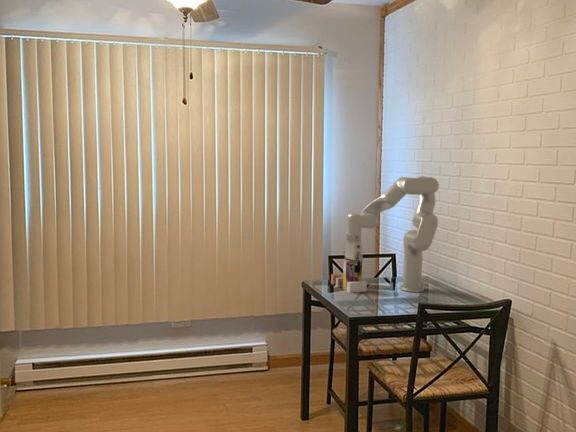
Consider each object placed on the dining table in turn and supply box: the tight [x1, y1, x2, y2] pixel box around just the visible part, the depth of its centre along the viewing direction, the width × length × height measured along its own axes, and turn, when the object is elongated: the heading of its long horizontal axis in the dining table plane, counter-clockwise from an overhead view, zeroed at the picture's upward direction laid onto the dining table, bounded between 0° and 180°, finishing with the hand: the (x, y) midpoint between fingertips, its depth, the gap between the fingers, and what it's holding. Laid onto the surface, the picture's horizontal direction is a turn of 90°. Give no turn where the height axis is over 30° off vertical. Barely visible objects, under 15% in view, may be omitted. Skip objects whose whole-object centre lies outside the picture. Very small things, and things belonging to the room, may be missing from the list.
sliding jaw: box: [330, 273, 343, 288], centre depth 322 cm, size 10×9×5 cm
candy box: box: [342, 259, 363, 291], centre depth 313 cm, size 9×4×15 cm, turn 106°
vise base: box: [346, 280, 368, 294], centre depth 317 cm, size 14×22×6 cm, turn 25°
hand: (352, 270), depth 312 cm, fingers open, 9 cm apart
